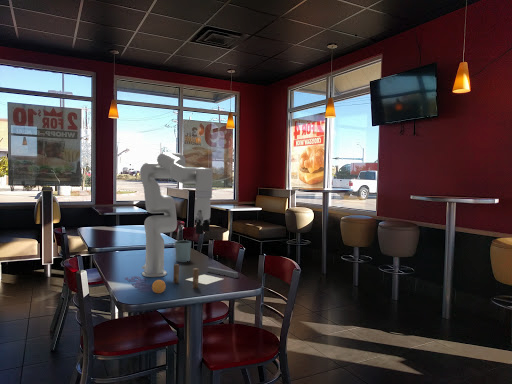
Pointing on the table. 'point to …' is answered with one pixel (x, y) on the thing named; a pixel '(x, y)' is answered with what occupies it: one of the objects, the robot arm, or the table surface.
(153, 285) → the ball
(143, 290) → the signage
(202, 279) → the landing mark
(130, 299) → the table surface
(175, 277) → the left post
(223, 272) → the wall
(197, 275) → the right post
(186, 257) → the pale green bucket
